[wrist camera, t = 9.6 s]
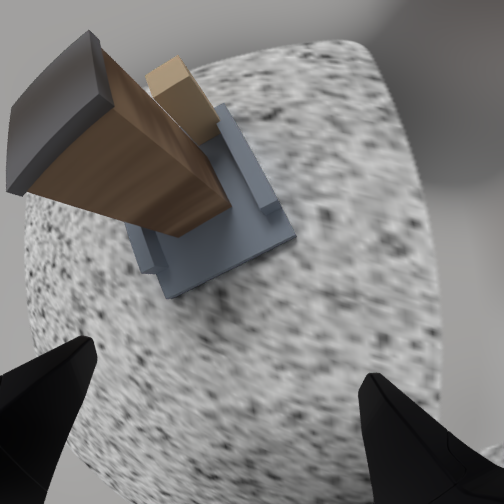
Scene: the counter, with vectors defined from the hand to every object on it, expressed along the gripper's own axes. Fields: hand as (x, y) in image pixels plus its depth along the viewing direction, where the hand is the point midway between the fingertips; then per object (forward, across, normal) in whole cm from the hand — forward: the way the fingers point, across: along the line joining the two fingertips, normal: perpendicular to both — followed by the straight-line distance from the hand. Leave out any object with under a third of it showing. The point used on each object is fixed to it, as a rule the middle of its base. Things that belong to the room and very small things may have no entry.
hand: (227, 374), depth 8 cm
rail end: (+14, +4, -2) cm, 15 cm away
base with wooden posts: (+15, +4, -2) cm, 16 cm away
